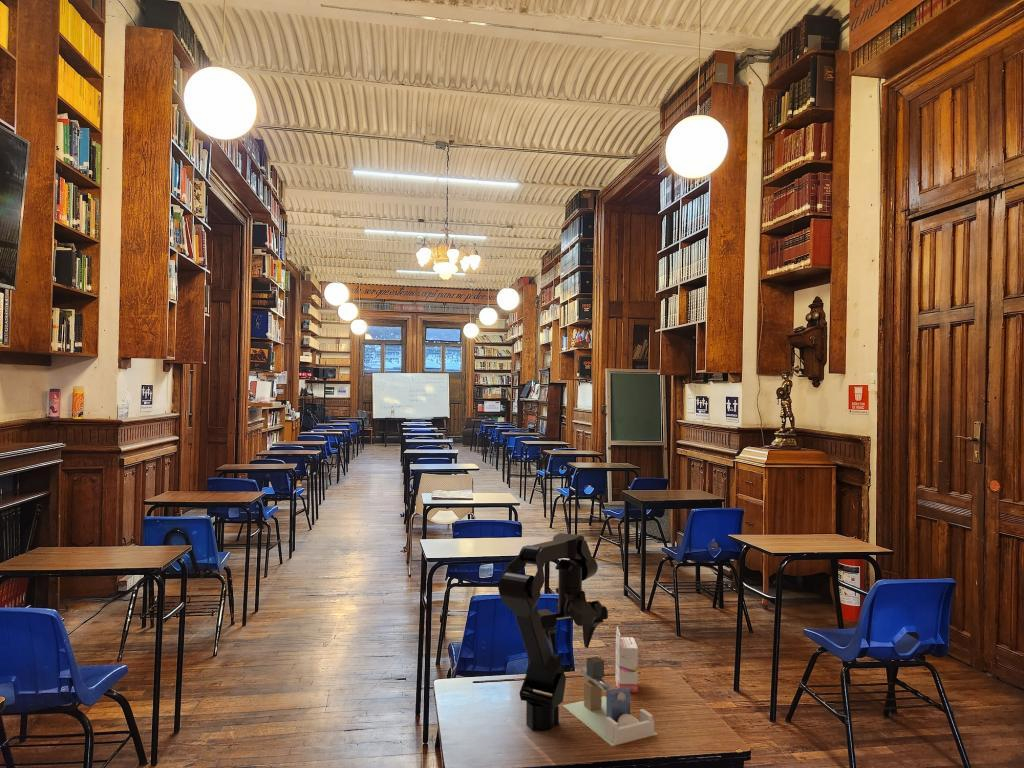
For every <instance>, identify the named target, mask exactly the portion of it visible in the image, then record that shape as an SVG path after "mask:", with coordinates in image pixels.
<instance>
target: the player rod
mask: <svg viewBox="0 0 1024 768" xmlns="http://www.w3.org/2000/svg"><path fill="white" fill-rule="evenodd" d="M580 674H581V676H582V677H583V678H585V679H586V680H587V681H591V682H592V683H594V684H595V685H596V686H598V687H599V688H601V689H602V691H604V692H605V693H606V696H605V697H606V717H610V718H612V719H613V720H614V721H615V722H618V719H619V717H620V716H621V715H623V714H629V715H631V692H630V690H629V689H627V688H626V687H622V688H617V687H615V686H614V685H612V684H611V683H609V682H608V681H607V680H605V679H603V678H605V660H604V659H602V658H600V657H599V656H593V657H592V656H591V657H587V658H586V667H582V668H581V670H580Z"/></svg>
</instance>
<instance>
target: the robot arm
mask: <svg viewBox="0 0 1024 768" xmlns="http://www.w3.org/2000/svg"><path fill="white" fill-rule="evenodd" d="M556 560H559V562H558V563H557V564H556V565H555V570H557V571H558V587H556V588H555V593H556V594H558V600H557V601H558V603H557V604H556V605H555V610H557V611H558V612H557V611H556V612H552V611H551V610H549V609H548V608H544V609H538V607H537V605H538V602H539V601H540V598H541V590H542V589H543V585H544V583H545V581H546V578H545V573H544V566H545V564H546V563H550V562H552V561H553V562H554V561H556ZM527 565H533V566H536V570H537V571H536V573H535V575H531V574H524V573H519V572H520V571H521V570H523V569H524V568H525V567H526V566H527ZM598 568H599V567H598V563H597V561H596V558H595V557H593V556H592V553H591V550H590V548H589V544H588V542H587V540H585V536H584V535H581V534H574V533H565V532H558V533H557V534H556V535H554V536H553V538H552V540H549V541H545V542H540V543H536V544H533V545H532V544H531V545H529V544H527V545H524V546H522V547H521V549H520V551H519V552H518V555H517V556H516V557H515V558H514V559H511V561H510V562H509V563H507V564H506V566H505V568H504V570H503V572H502V574H501V576H500V578H499V580H498V583H497V590H498V593H499V596H500V598H501V600H502V602H503V604H504V605H505V607H506V608H508V609H509V610H510V611H511V612H512V613H513V615H514V616H515V620H516V623H517V626H518V628H519V632H520V635H521V639H522V643H523V645H524V649H525V652H526V656H527V657H528V662H529V663H528V666H527V668H526V670H525V677H524V679H523V683H522V684H521V686H520V687H521V688H520V689H519V690H520V691H519V699H520V701H524V702H526V717H525V718H526V719H525V721H526V723H525V724H526V726H527V727H528V728H529V729H530V730H531V731H533V732H535V731H537V732H546V731H547V732H548V731H550V730H552V729H554V727H556V726H558V725H559V724H560V707H559V706H560V705H561V704H562V703H563V701H564V698H565V697H564V695H565V690H566V682H567V681H566V680H567V678H566V675H565V671H564V670H565V667H564V664H563V660H562V657H561V655H560V654H556V650H557V649H556V648H557V647H556V644H557V643H556V634H557V633H556V632H557V631H558V627H557V623H558V621H564V620H570V619H572V620H573V622H574V624H575V625H577V626H579V627H582V638H583V639H582V640H583V641H582V642H583V647H584V648H585V649H588V648H589V646H590V643H591V640H592V638H593V634H594V632H595V630H596V628H597V627H598V626H599V625H600V624H603V623H604V622H605V620H608V619H609V610H608V608H607V606H605V605H603V604H602V603H601V602H600V601H599V600H592V601H591V600H589V601H587V599H586V598H587V597H586V592H585V590H583V581H586V580H588V579H590V578H592V577H594V575H595V576H596V574H597V572H598ZM550 651H551V652H550ZM546 693H547V694H546Z"/></svg>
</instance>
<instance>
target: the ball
mask: <svg viewBox="0 0 1024 768" xmlns="http://www.w3.org/2000/svg"><path fill="white" fill-rule="evenodd" d="M632 716H633V715H632ZM632 716H631V714H630V715H629V714H623V715H621V716H620V717H619V719H618V722H617V723H618V727H621V726H625V725H629V724H633V723H636V722H635V719H634V718H633V717H634V716H633V717H632Z"/></svg>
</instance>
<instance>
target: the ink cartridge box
mask: <svg viewBox="0 0 1024 768" xmlns="http://www.w3.org/2000/svg"><path fill="white" fill-rule="evenodd" d="M621 635H622V634H621V633H620V629H619V626H618V625H617V626H616V630H615V671H614V672H615V679H614V680H615V684H616V688H617V689H618V688H622V687H626V688H627V689H629V690H630V693H631V692H633V693H636V692H639V648H638V645H637V643H636V640H635V638H634V637H626V636H625V637H624V636H623V637H622V636H621Z"/></svg>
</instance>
